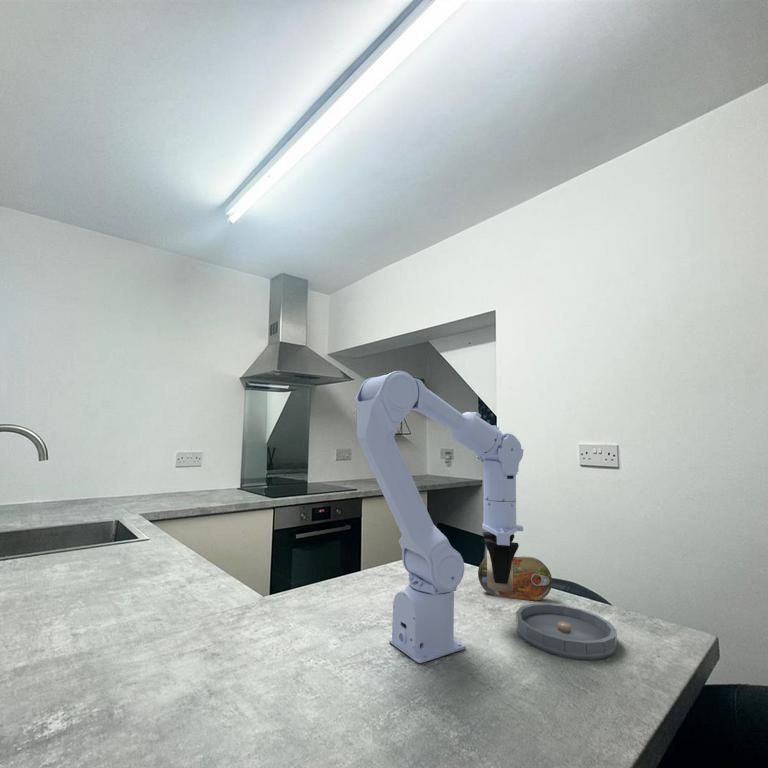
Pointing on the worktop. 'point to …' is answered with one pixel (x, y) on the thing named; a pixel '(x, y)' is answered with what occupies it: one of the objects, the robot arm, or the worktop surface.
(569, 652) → the round tray
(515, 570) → the tin
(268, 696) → the worktop surface
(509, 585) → the beige cylinder
